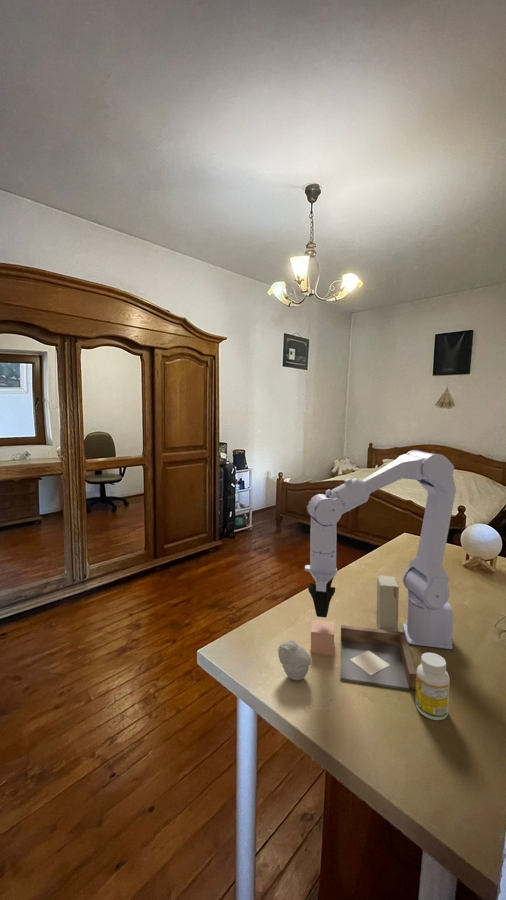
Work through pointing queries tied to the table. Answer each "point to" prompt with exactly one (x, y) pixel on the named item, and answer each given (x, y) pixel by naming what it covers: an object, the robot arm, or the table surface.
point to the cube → (322, 637)
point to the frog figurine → (294, 660)
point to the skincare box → (387, 603)
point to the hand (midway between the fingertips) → (322, 607)
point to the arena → (376, 658)
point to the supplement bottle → (432, 687)
